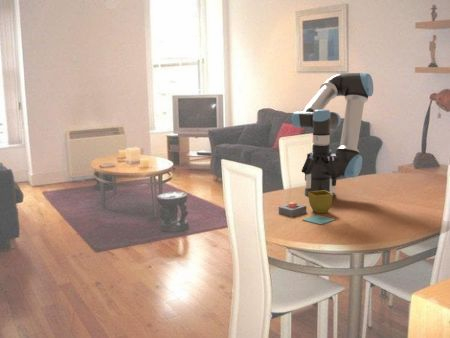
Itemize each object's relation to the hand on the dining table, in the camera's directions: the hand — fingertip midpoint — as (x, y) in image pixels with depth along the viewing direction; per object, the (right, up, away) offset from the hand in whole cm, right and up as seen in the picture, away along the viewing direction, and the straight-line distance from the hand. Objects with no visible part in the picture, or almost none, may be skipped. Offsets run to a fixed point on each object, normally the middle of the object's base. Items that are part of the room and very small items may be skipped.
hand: (320, 190), depth 242 cm
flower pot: (0, -10, +2) cm, 10 cm away
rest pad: (-2, -13, -11) cm, 17 cm away
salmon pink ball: (-12, -10, +2) cm, 16 cm away
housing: (-12, -10, +2) cm, 16 cm away
